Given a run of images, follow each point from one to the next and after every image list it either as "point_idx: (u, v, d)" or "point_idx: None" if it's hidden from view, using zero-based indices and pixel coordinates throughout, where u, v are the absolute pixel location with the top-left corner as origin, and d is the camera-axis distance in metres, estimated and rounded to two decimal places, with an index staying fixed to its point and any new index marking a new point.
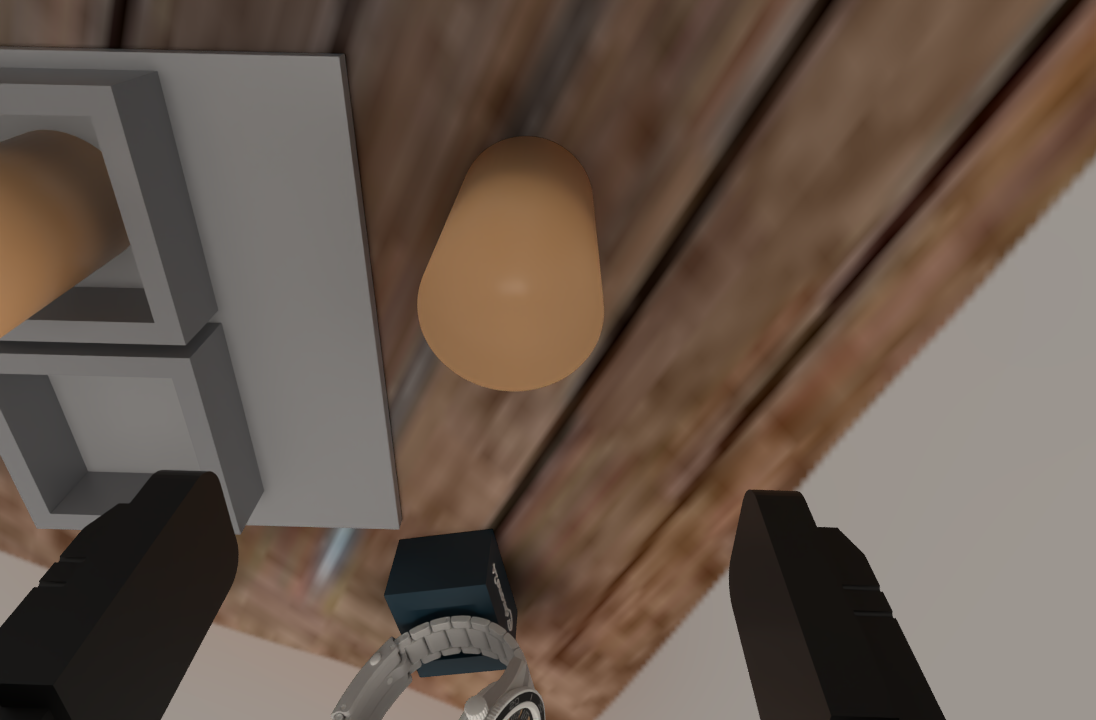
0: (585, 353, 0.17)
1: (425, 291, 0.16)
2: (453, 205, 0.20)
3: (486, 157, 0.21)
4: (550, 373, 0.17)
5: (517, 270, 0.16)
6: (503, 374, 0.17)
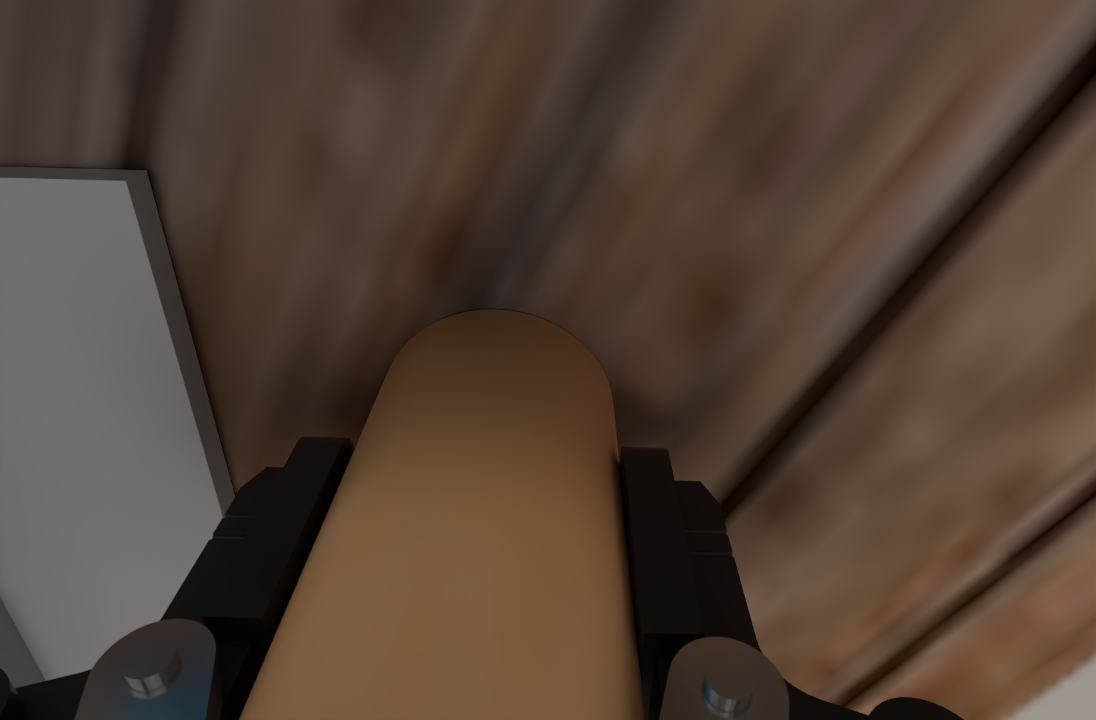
0: None
1: None
2: (336, 493, 0.10)
3: (416, 363, 0.11)
4: None
5: None
6: None
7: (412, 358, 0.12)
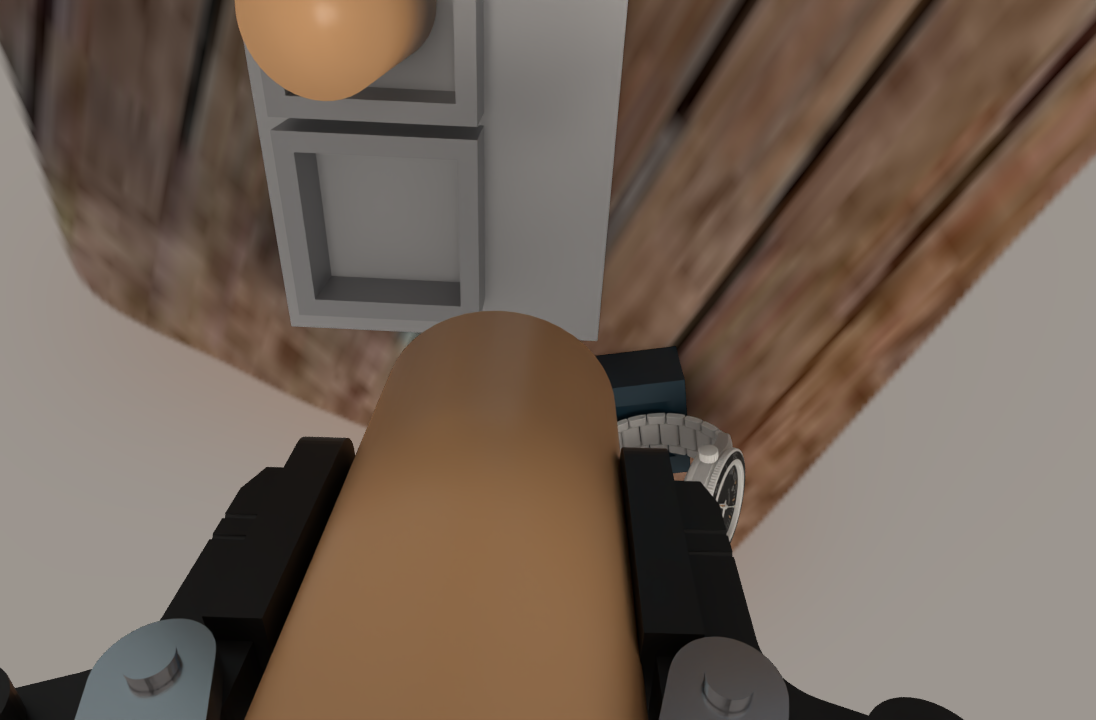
0: None
1: None
2: (340, 494, 0.10)
3: (419, 364, 0.11)
4: None
5: None
6: None
7: (415, 360, 0.12)
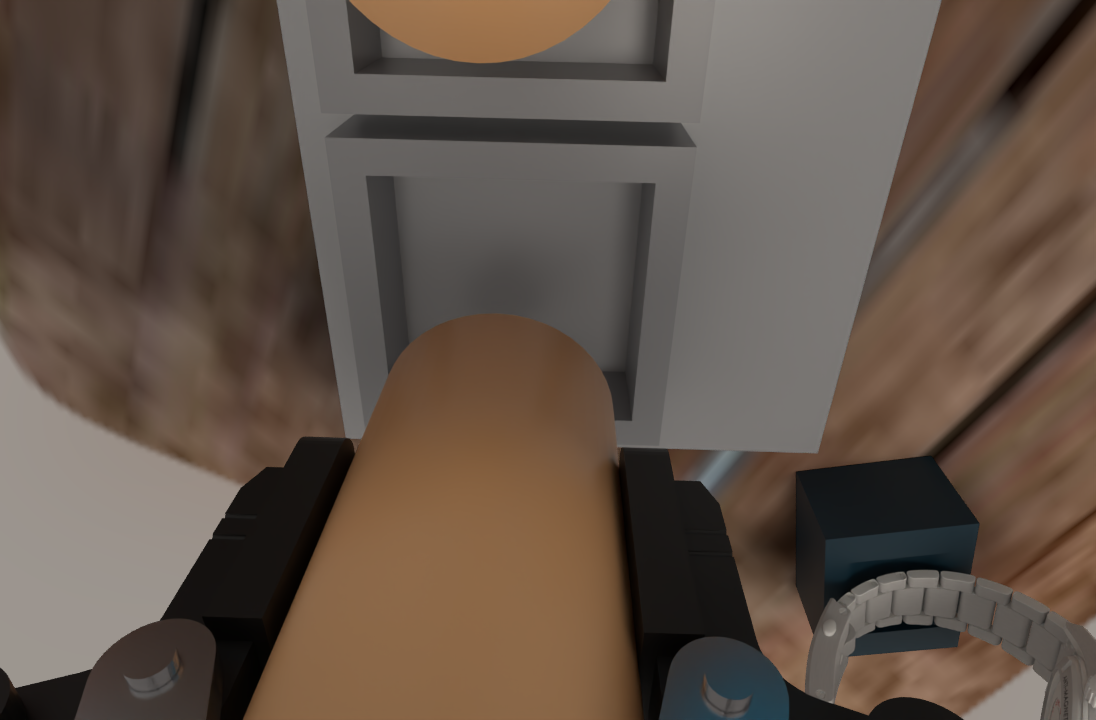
0: None
1: None
2: (337, 497, 0.10)
3: (416, 367, 0.11)
4: None
5: None
6: None
7: (413, 362, 0.12)
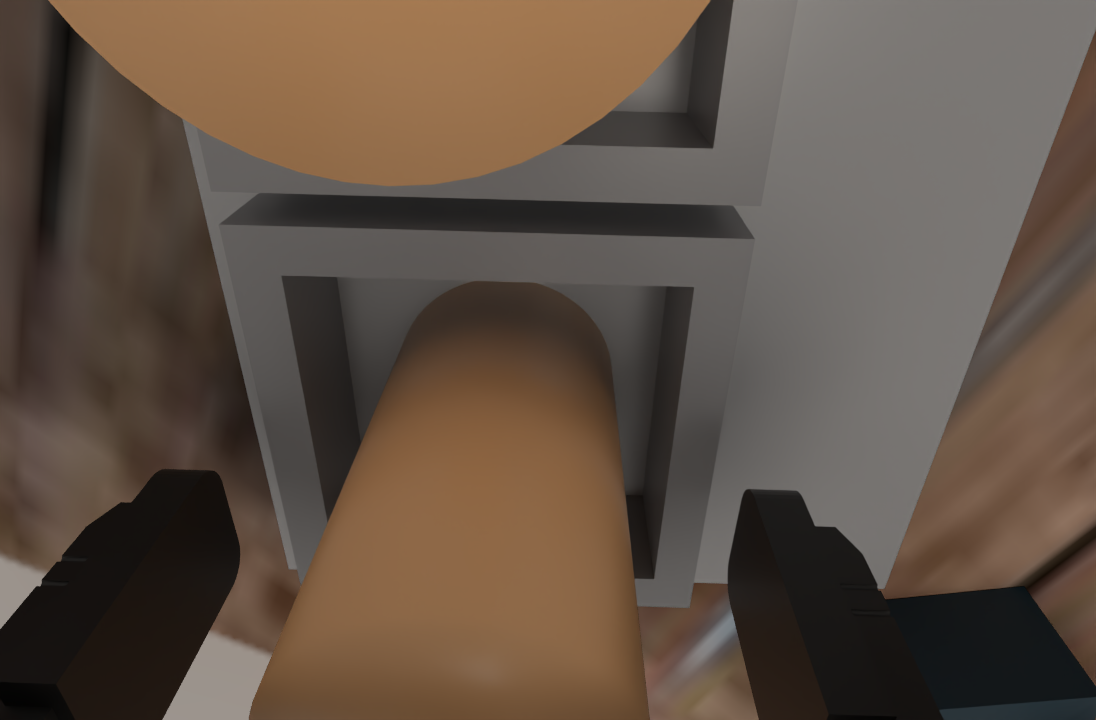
0: None
1: (264, 719, 0.07)
2: (366, 432, 0.11)
3: (434, 323, 0.13)
4: None
5: (463, 693, 0.07)
6: None
7: (430, 320, 0.13)
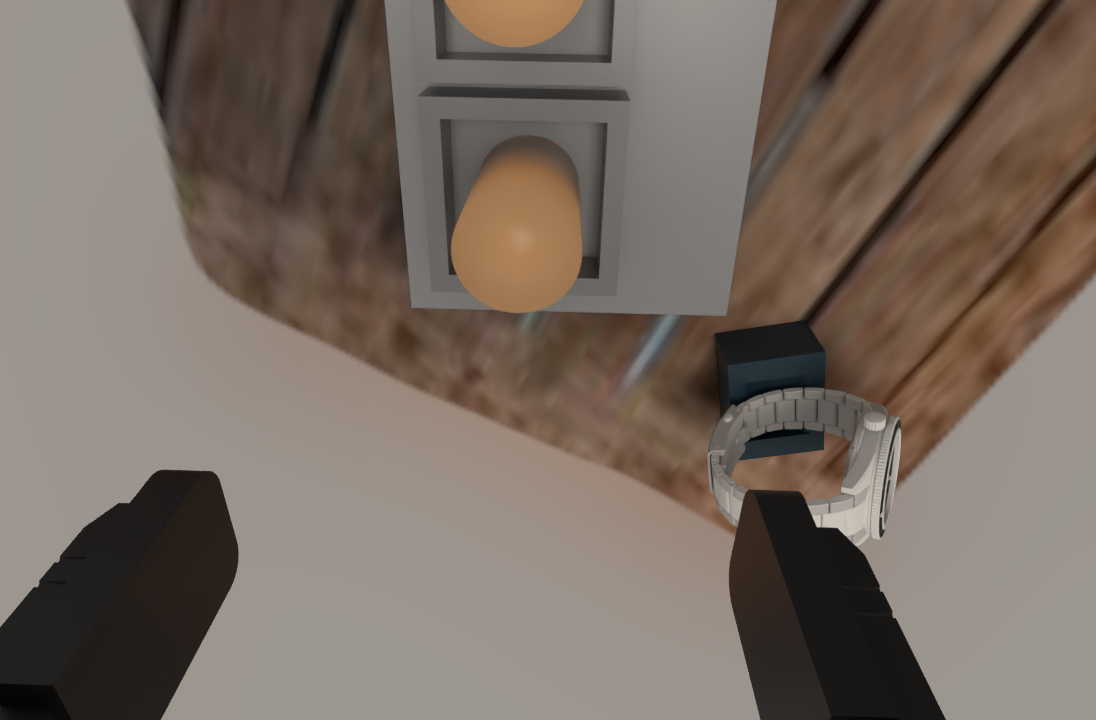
0: (569, 284, 0.24)
1: (457, 237, 0.23)
2: (474, 183, 0.27)
3: (498, 150, 0.28)
4: (544, 299, 0.24)
5: (521, 222, 0.23)
6: (511, 300, 0.24)
7: (495, 150, 0.29)
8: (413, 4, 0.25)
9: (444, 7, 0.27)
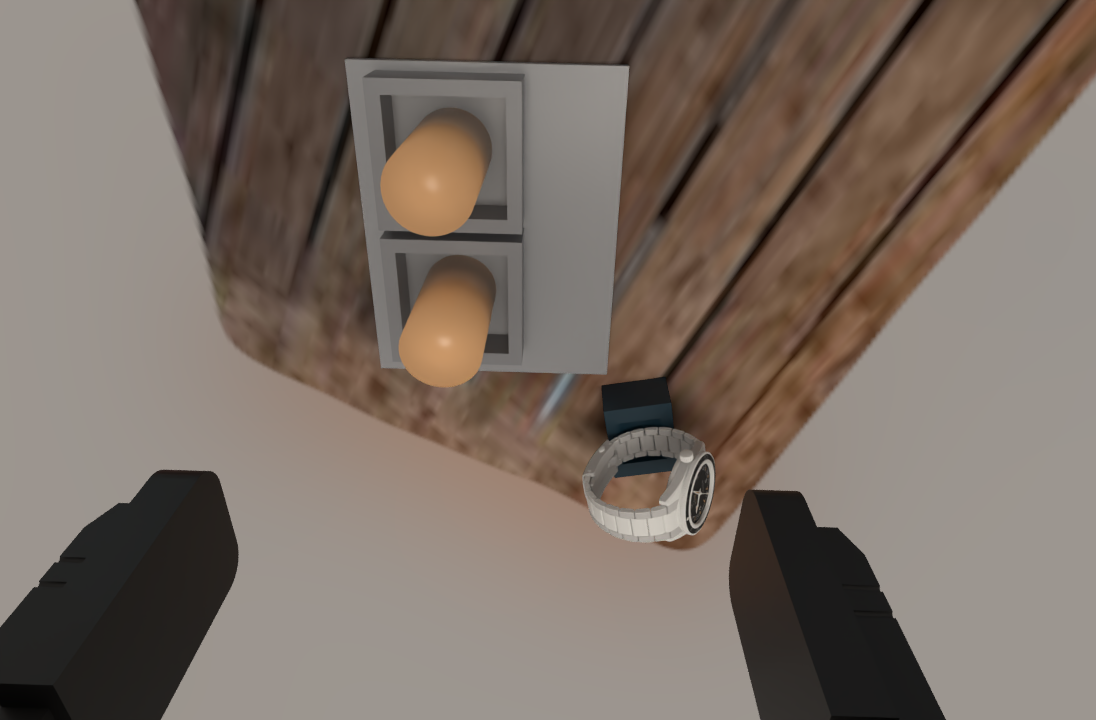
0: (475, 369, 0.37)
1: (402, 341, 0.36)
2: (418, 296, 0.40)
3: (436, 268, 0.41)
4: (460, 378, 0.37)
5: (442, 333, 0.36)
6: (438, 379, 0.37)
7: (435, 267, 0.42)
8: (375, 184, 0.38)
9: None
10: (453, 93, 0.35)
